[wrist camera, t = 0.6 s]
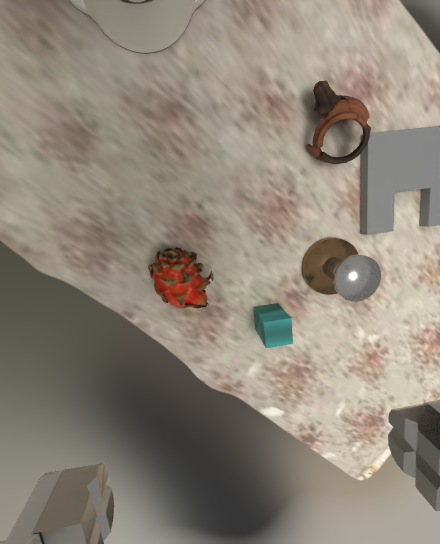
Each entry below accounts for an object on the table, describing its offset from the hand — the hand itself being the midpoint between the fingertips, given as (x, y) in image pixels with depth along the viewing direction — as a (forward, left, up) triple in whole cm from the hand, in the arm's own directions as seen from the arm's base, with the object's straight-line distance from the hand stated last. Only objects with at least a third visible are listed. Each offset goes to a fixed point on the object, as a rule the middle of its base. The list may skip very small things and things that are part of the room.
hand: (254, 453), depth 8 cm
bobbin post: (+7, +23, -43) cm, 49 cm away
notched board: (-6, +37, -43) cm, 57 cm away
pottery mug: (-16, +23, -43) cm, 51 cm away
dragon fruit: (+5, -3, -43) cm, 43 cm away
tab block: (+15, +11, -43) cm, 47 cm away
